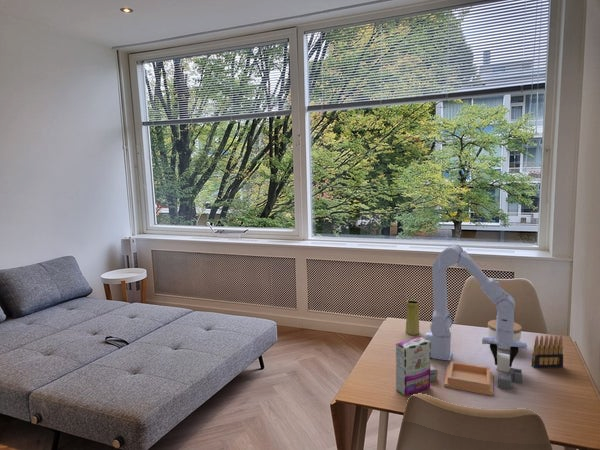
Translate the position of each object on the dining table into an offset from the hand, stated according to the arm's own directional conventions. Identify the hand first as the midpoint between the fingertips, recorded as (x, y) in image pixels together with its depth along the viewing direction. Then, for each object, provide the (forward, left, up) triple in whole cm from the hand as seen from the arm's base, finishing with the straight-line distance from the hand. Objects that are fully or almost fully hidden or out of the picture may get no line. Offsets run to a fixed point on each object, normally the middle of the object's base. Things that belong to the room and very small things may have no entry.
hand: (502, 365), depth 152 cm
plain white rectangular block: (0, 0, -1) cm, 1 cm away
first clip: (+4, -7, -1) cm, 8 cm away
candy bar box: (-28, -27, -2) cm, 39 cm away
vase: (-36, +23, -2) cm, 43 cm away
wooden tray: (-11, -14, -1) cm, 18 cm away
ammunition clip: (+15, +8, -2) cm, 17 cm away
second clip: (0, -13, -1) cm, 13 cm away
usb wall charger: (-25, -16, -2) cm, 30 cm away
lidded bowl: (+1, +22, -2) cm, 22 cm away
